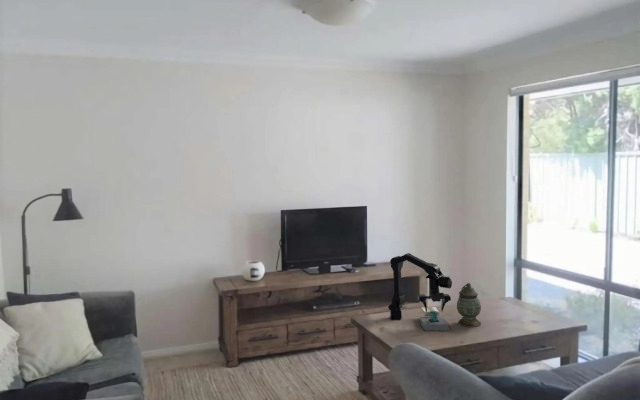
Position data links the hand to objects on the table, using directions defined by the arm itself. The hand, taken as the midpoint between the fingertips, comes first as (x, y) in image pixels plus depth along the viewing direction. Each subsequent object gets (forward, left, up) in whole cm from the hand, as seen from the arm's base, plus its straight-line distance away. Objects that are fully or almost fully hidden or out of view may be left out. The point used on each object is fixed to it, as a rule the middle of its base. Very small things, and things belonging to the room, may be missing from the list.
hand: (434, 311), depth 296 cm
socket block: (0, 0, -9) cm, 9 cm away
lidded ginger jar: (+22, +4, -9) cm, 24 cm away
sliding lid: (0, +12, -5) cm, 13 cm away
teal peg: (0, 0, -8) cm, 8 cm away
